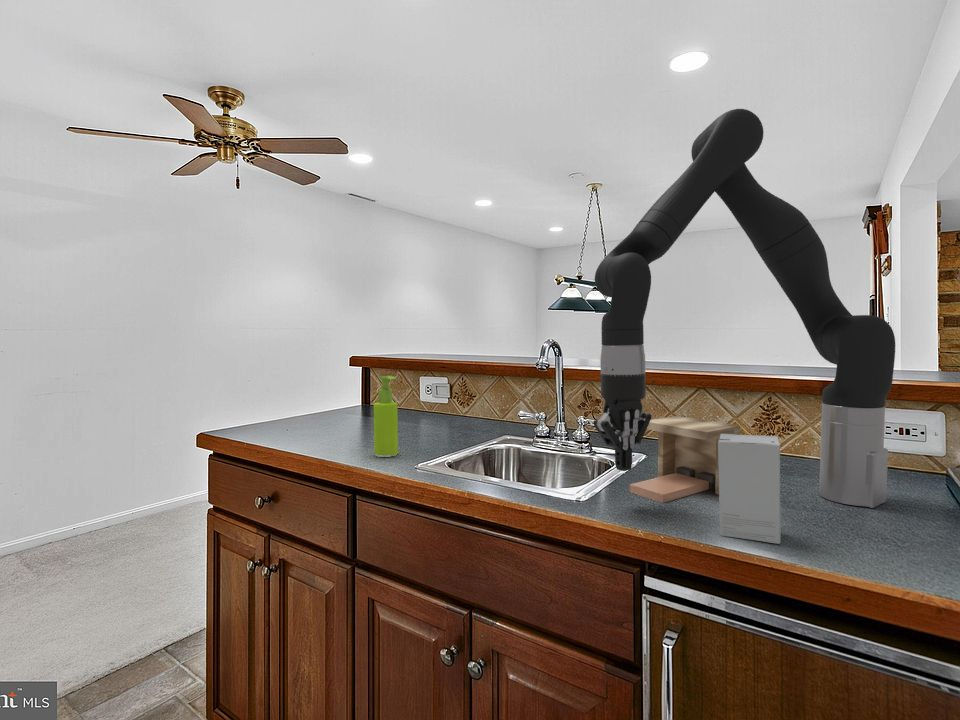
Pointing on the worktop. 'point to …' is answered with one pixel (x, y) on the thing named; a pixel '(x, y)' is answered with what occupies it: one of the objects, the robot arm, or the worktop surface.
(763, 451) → the skincare box
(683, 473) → the shelf
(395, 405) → the soap dispenser
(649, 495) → the tile
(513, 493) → the worktop surface
